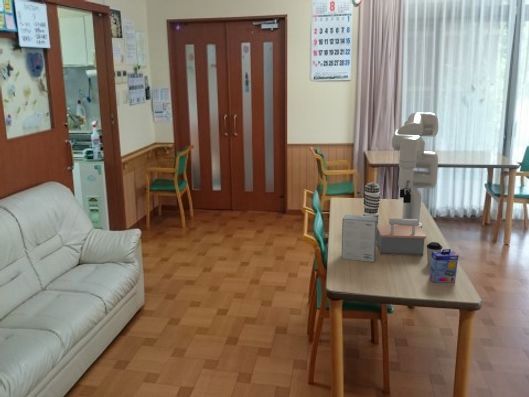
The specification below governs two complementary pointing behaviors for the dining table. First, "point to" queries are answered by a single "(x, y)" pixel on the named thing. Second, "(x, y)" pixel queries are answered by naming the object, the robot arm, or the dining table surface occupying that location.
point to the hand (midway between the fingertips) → (404, 200)
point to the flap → (401, 229)
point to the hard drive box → (359, 237)
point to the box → (400, 245)
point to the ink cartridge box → (443, 266)
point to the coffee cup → (432, 250)
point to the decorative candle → (371, 200)
